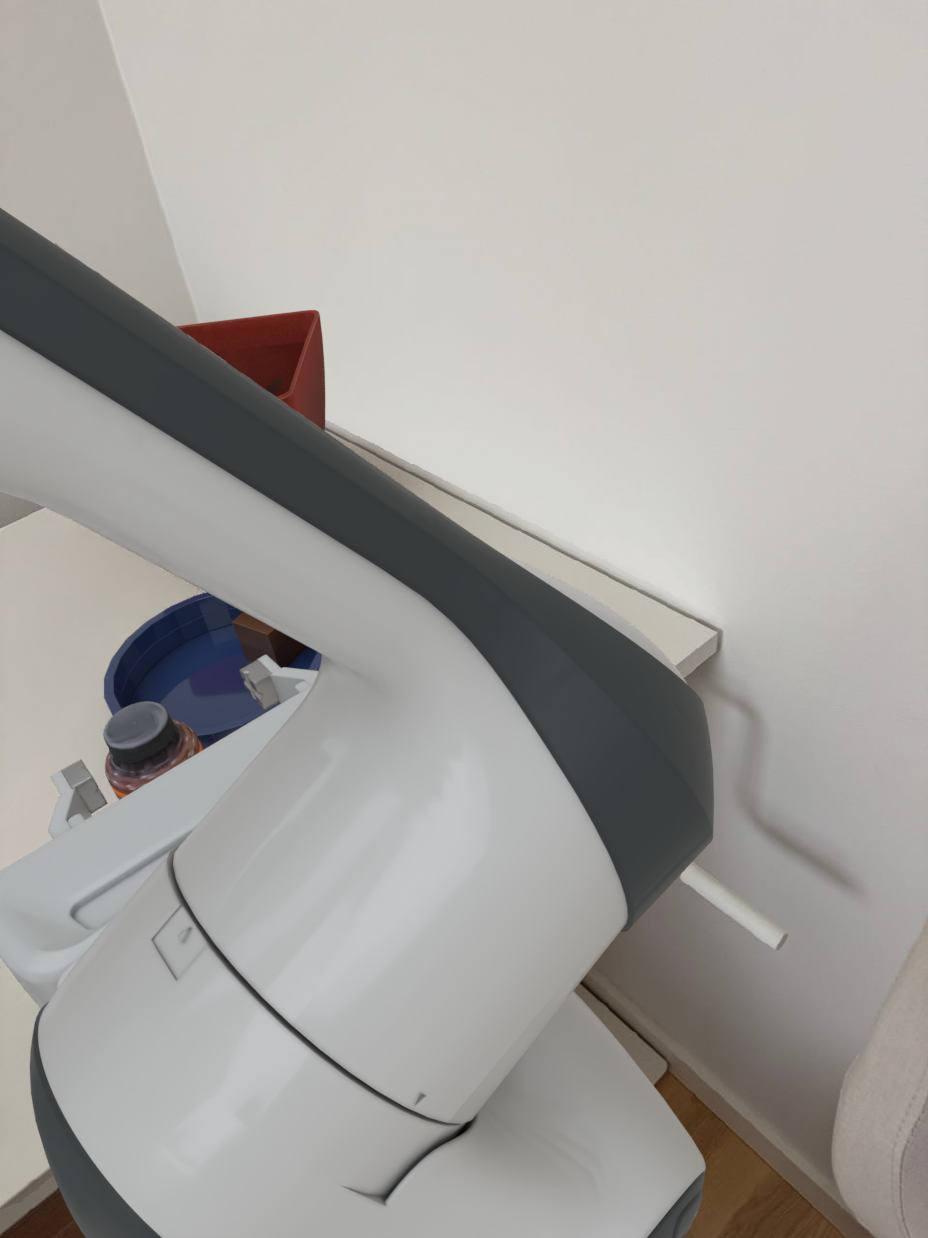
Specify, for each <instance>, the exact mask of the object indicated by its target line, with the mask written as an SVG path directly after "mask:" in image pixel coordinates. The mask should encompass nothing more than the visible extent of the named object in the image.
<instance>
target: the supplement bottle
mask: <svg viewBox="0 0 928 1238" xmlns="http://www.w3.org/2000/svg"><path fill="white" fill-rule="evenodd" d="M102 736H103V740H104V742H105V744H106V747H108V753H107V754H106V758H105V762H104V771H105V777H106V779H107V782H108V783H109V785H110V788H111V789H112V791H113V793H114V795H115V796H116V798H117V801H118V800H120V799H122V798H123V797H125V796H127V795H129V794H130V793H132V792H134V791H135V790H137V789H139V788H140V787H142V786H144V785H145V784H147V783H149V782H150V781H152V780H154V779H155V778H157V777H159V776H160V775H162V774H164V773H165V772H167V771H169V770H171V769H172V768H174V767H176V766H177V765H179V764H181V763H182V762H184V761H186V760H187V759H189V758H191V757H192V756H194V755H196V754H197V753H199V752H201V751H202V750H203V748H202V746H201V743H200V741H199V739H198V737H197V735H196V734H195V732H194V731H193V730H192V729H191V728H190V727H189V726H187V725H186V724H184V723H182V722H180V721H177V720H173V719H171V718H170V716H169V714H168V712H167V710H166V708H165V707H164V706H162V705H161V704H159V703H156V702H150V701H145V702H139V703H135V704H132V705H129V706H127V707H125V708H123V709H121V710H120V711H118V712H117V713H116V714H115V715H114V716H112V715H111V716H110V719H108V721H107V723H106V724H105V726H104V729H103V733H102Z"/></svg>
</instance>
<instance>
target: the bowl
mask: <svg viewBox="0 0 928 1238" xmlns="http://www.w3.org/2000/svg"><path fill="white" fill-rule="evenodd" d="M242 612H243V611H241V610H239V609H237V608H235V607H233V606H232V605H230V604H228V603H226V602H224V601H222V600H220V599H219V598H217V597H215V596H213V595H211V594H209V593H207V592H203V593H200V594H196V595H193V596H191V597H188V598H186V599H184V600H182V601H179V602H177V603H175V604H172V605H170V606H169V607H167V608H165V609H163V610H162V611H161V612H159V613H157V614H156V615H154V616H152V617H151V618H150V619H148V620H146V621H145V622H144V623H143V624H141V625H140V626H139V627H138V628H137V629H136V630H135V631H134V632H132V633H131V634H130V635H129V636H128V637H127V638H126V639H125V640H124V641H123V642H122V644H121V645H120V647H119V648H118V649H117V651H116V652H115V653H114V654H113V656H112V658H111V659H110V662H109V664H108V667H107V669H106V672H105V674H104V677H103V699H104V701H105V703H106V705H107V707H108V709H109V711H110V713H111V717H112V716H114V715H115V714H116V713H117V712H118V711H120V710H121V709H123V708H125V707H127V706H129V705H132V704H135V703H139V702H145V701H150V702H156V703H159V704H161V705H162V706H164V707H165V708H166V710H167V712H168V714H169V716H170V718H171V719H173V720H177V721H180V722H182V723H184V724H186V725H187V726H189V727H190V728H191V729H192V730H193V731H194V732H195V734H196V735H197V737H198V739H199V741H200V743H201V746H202V748H203V750H204V749H206V748H207V747H209V746H211V745H213V744H214V743H216V742H218V741H219V740H221V739H223V738H224V737H226V736H228V735H229V734H231V733H233V732H234V731H236V730H238V729H239V728H241V727H243V726H244V725H246V724H248V723H249V722H251V721H253V720H255V719H256V718H258V717H260V716H261V715H263V714H265V713H266V712H268V711H270V710H271V709H273V708H275V707H276V706H278V705H280V704H281V703H280V702H279V703H277V704H275V705H274V706H272V707H270V708H268V709H266V710H264V709H263V708H262V707H261V706H260V705H259V704H258V702H257V700H256V699H253V698H252V697H251V695H250V694H249V693H248V691H247V689H246V687H245V685H244V681H245V680H244V679H243V678H242V677H241V674H240V671H239V670H240V669H242V668H243V667H245V666H247V665H249V664H250V663H252V661H250V660H247V659H246V658H245V656H244V653H243V650H242V648H241V645H240V642H239V640H238V637H237V634H236V632H235V629H234V626H233V624H232V621H233V620H234V619H235V618H237V617H238V616H239V615H240V614H241V613H242ZM321 660H322V654H321V653H319V652H317V651H316V650H314V649H312V648H310V647H308V648H307V649H306V650H305V651H304V652H303V653H301V654H300V655H299V656H298V657H297V658H296V659H295V660H294V661H293V662H292V663H291V664H290V665H289V666H288V667H287V668H296V669H305V670H314V671H319V668H320V664H321Z"/></svg>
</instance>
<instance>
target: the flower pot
mask: <svg viewBox="0 0 928 1238" xmlns="http://www.w3.org/2000/svg"><path fill="white" fill-rule="evenodd" d="M175 326H176V327H177V328H178V329H180V330H181V331H182V332H184V333H185V334H187V335H189V336H190V337H191V338H193V339H194V340H196V341H197V342H198V343H200V344H201V345H203V346H204V347H206V348H207V349H209V350H210V351H211V352H213V353H214V354H216V355H217V356H219V357H220V358H221V359H223V360H224V361H226V362H227V363H228V364H230V365H231V366H232V367H234V368H235V369H237V370H238V371H240V372H241V373H243V374H244V375H246V376H247V377H249V378H250V379H251V380H253V381H254V382H255V383H257V384H258V385H260V386H261V387H262V388H264V389H265V390H267V391H268V392H270V393H271V394H273V395H274V396H276V397H277V398H278V399H280V400H281V401H283V402H284V403H286V404H287V405H288V406H290V407H291V408H292V409H294V410H295V411H297V412H298V413H300V414H301V415H303V416H304V417H305V418H307V419H308V420H310V421H311V422H313V423H314V424H316V425H317V426H318V427H320V428H321V429H322V430H324V431H325V432H326V371H325V370H326V368H325V352H324V338H323V331H322V321H321V314H320V311H318V310H315V309H306V310H298V311H289V312H281V313H272V314H265V315H264V314H263V315H257V316H249V317H239V318H234V319H233V318H232V319H225V320H216V321H215V320H214V321H207V322H206V321H205V322H199V323H191V324H190V323H189V324H184V325H183V324H182V325H175Z"/></svg>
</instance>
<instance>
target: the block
mask: <svg viewBox="0 0 928 1238" xmlns="http://www.w3.org/2000/svg"><path fill="white" fill-rule="evenodd" d="M232 624H233V626H234V629H235V632H236V634H237V637H238V640H239V642H240V645H241V648H242V650H243V653H244V656H245V658H246V659H247V660H250V661H252V662H254V661H256V660H257V659H258V658H260V657H262V656H263V655H265V654H266V655H268V656H269V657H270V658H271V659H272V660H273V661H274V662H275V663H276V664H277V665H278V666H279V667H281V668H283V667H288V666H289V665H290V664H291V663H292V662H293V661H294V660H295V659H296V658H297V657H298V656H299V655H300V654H301V653H303V652H304V651H305V650H306V649H307V648H308V646H306V645H304V644H303V643H301V642H299V641H297V640H295V639H293V638H291V637H289V636H288V635H286V634H284V633H282V632H280V631H278V630H276V629H275V628H273V627H271V626H269V625H267V624H265V623H263V622H261V621H260V620H258V619H256V618H254V617H252V616H250V615H248V614H247V613H245V612H242V613H241V614H240V615H239V616H238V617H237V618H235V619H234V620H233V621H232Z"/></svg>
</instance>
